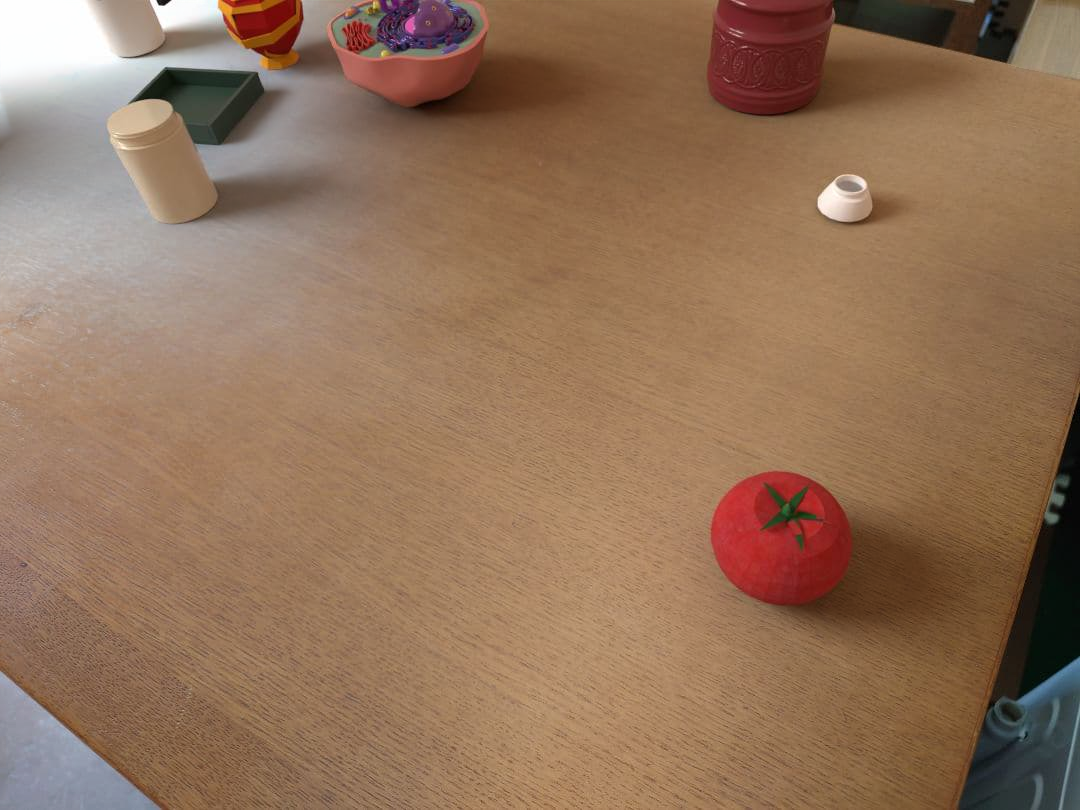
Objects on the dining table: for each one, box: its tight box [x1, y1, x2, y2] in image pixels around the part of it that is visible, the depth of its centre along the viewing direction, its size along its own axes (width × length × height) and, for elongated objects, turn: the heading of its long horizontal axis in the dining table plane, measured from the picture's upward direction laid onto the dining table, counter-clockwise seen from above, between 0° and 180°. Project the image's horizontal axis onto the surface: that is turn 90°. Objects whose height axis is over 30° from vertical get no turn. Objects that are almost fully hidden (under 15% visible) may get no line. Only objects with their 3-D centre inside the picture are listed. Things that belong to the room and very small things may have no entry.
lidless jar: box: [817, 173, 874, 223], centre depth 75 cm, size 5×3×5 cm
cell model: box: [326, 0, 490, 108], centre depth 92 cm, size 17×20×11 cm
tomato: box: [709, 470, 853, 607], centre depth 50 cm, size 9×9×8 cm
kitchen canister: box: [706, 0, 836, 115], centre depth 84 cm, size 13×13×18 cm
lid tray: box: [126, 66, 265, 146], centre depth 96 cm, size 13×12×3 cm
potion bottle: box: [217, 0, 305, 71], centre depth 98 cm, size 10×10×15 cm
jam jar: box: [106, 99, 219, 225], centre depth 81 cm, size 7×7×10 cm
